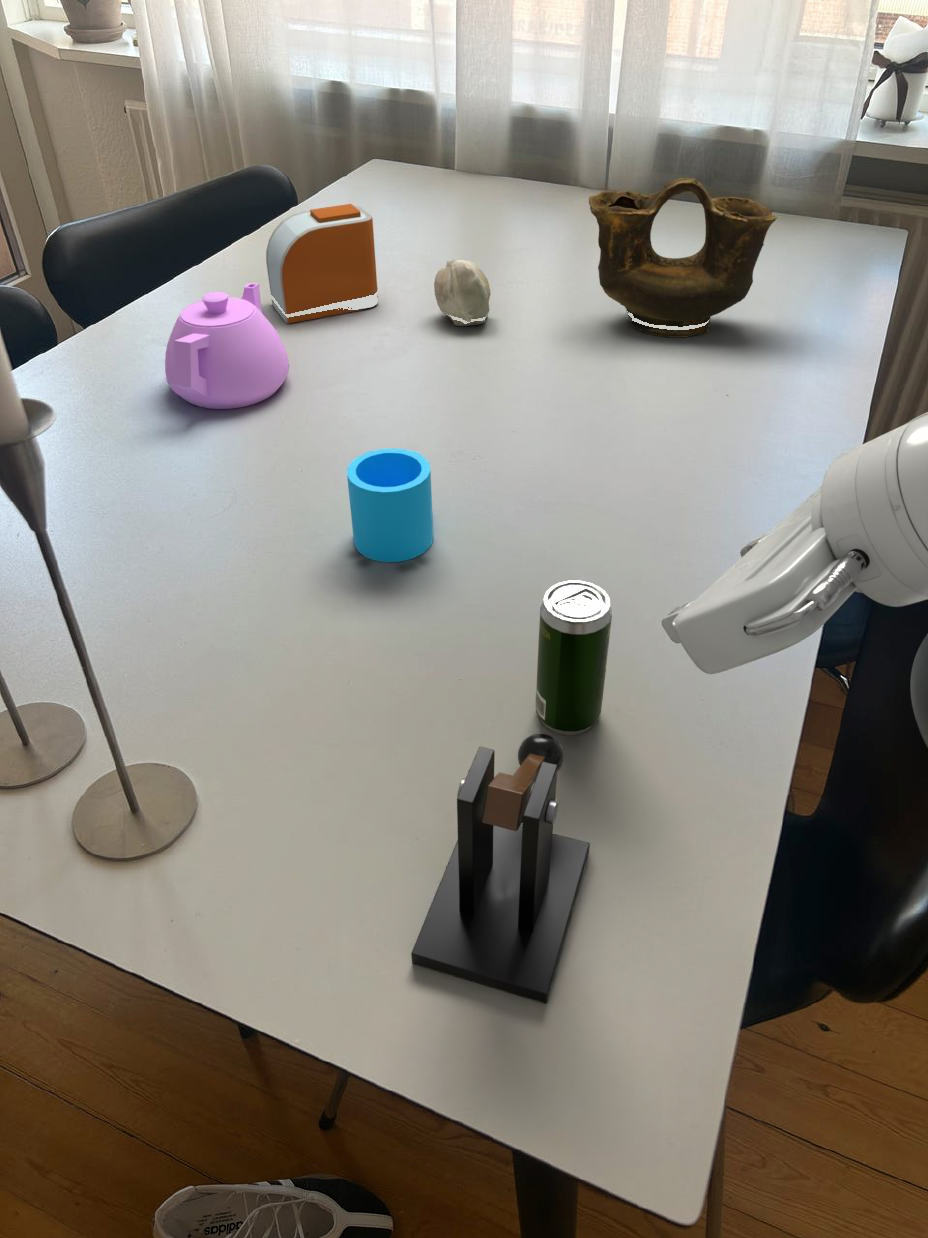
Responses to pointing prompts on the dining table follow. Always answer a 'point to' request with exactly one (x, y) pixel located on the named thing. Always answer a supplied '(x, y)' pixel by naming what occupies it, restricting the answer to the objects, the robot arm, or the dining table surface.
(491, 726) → the dining table surface
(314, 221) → the orange and white toaster
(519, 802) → the lever
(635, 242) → the pottery vessel
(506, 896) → the bracket
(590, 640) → the green drink can
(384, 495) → the mug
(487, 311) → the garlic bulb
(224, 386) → the teapot
